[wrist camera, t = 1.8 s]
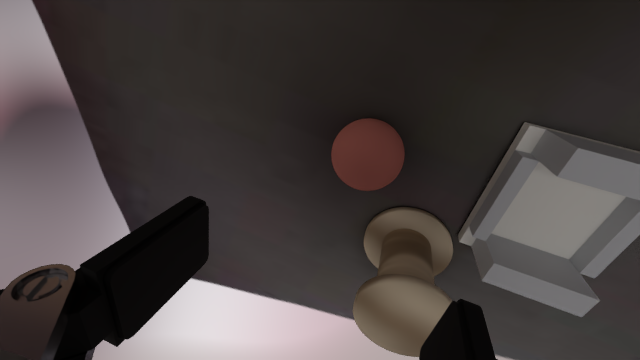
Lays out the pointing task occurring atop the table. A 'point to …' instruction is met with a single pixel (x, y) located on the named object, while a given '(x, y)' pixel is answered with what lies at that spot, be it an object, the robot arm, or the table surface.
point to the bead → (368, 154)
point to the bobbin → (403, 279)
